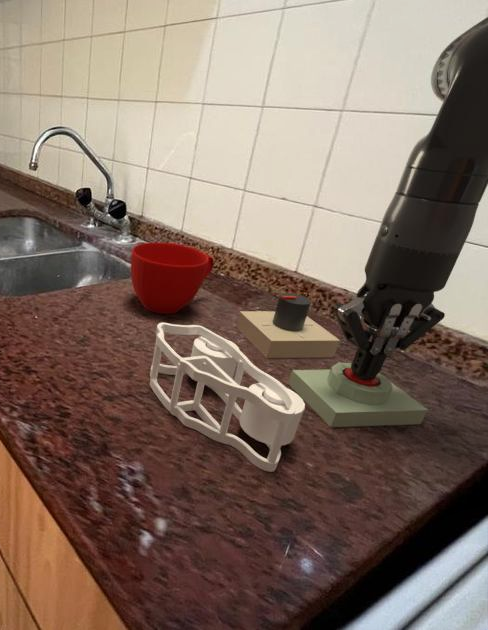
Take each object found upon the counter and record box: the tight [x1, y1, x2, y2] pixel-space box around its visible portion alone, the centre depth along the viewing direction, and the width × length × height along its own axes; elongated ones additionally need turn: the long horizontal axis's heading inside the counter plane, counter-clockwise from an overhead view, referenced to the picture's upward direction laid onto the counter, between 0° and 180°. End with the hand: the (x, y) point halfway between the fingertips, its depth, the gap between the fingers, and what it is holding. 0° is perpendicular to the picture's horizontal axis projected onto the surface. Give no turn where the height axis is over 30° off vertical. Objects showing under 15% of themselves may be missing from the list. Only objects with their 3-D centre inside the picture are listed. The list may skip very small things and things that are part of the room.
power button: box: [344, 368, 379, 387], centre depth 56 cm, size 4×4×2 cm
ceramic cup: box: [130, 242, 215, 315], centre depth 80 cm, size 13×17×10 cm
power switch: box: [287, 362, 428, 428], centre depth 57 cm, size 12×9×4 cm
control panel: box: [235, 310, 341, 359], centre depth 71 cm, size 11×10×3 cm
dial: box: [273, 292, 312, 331], centre depth 69 cm, size 4×4×5 cm
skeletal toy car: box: [149, 321, 306, 473], centre depth 52 cm, size 20×11×7 cm, turn 17°
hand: (362, 376), depth 55 cm, fingers closed
